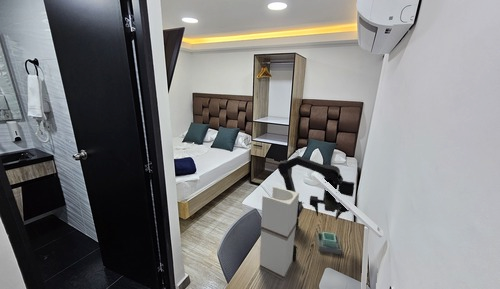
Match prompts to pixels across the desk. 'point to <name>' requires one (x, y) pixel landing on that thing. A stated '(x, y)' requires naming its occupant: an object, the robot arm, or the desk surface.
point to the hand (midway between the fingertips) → (326, 217)
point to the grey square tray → (328, 249)
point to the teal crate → (328, 240)
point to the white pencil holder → (278, 231)
